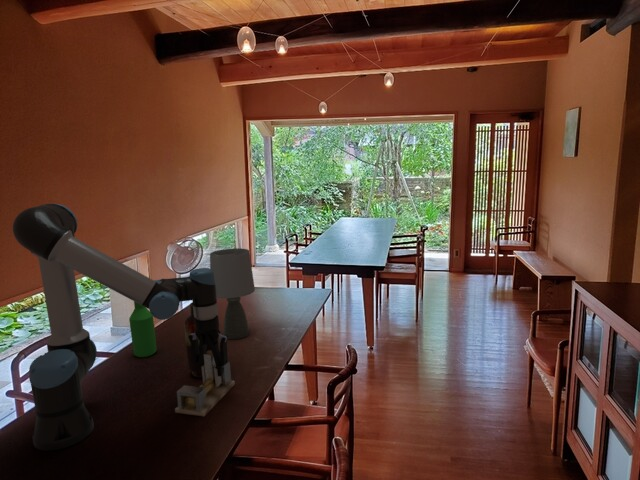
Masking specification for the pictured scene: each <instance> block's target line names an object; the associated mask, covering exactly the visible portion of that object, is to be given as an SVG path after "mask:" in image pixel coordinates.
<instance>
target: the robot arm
mask: <svg viewBox="0 0 640 480" xmlns="http://www.w3.org/2000/svg"><path fill="white" fill-rule="evenodd" d="M77 229H78V219H77V216H76V214H75V213H74V212H73V211H72V210H71V209H70V208H69V207H67V206H65V205H64V204H59V203H44V204H41V205H37V206H32V207H28V208H26V209H24V210H22V211H21V212H19V213H18V214H17V216H15V218H14V221H13V223H12V232H13V236H14V238H15V240H16V241H17V243H18V244H20V245H21V246H22V247H23V248H24V249H26V250H28V251H29V252H30V253H31V254H32V255H33V256H35V257H36V258H37V259H38V264H39V270H40V277H41V281H42V282H41V283H42V289H43V294H44V300H45V305H46V312H47V316H48V323H49V324H48V325H49V329H50V336H49V337H48V338H47V339H46V347H47V352H45V353H43V354H42V355H38V356H37V357H36V358H35V359H34V360H33V361H32V362H31V363H30V365H29V368H28V369H29V370H28V372H29V376H28V377H29V378H28V379H29V381H30V386H31V387H30V388H31V391H32V392H31V393H32V398H33V403H34V404H33V405H34V409H35V415H36V418H35V425H34V430H33V432H32V443H33V446H34V448H35V449H37V450H40V451H44V452H46V451H47V452H49V451H50V452H51V451H57V450H62V449H66V448H69V447H71V446H74V445H76V444H78V443H80V442H81V441H83V440H85V439H86V438H87V437H88V436H89V435H91V434H92V432H93V431H94V427H95V425H94V420H93V419H94V418H93V416H92V415H91V413H90V411H89V410H88V408H87V407H86V405H85V403H84V398H83V390H82V381H83V380H84V379H85V377H86V376H87V375H88V373H89V371H90V370H91V368H92V367H94V364H95V362H96V359H97V353H98V351H97V346H96V343H95V342H94V341H93V340H92V339H91V335H90V331H88V330H86V329H85V328H84V326H83V320H82V314H81V313H82V312H81V306H80V300H79V294H78V288H77V287H78V286H77V280H76V275H75V272H77V273H79V274H81V275H84V276H85V277H87V278H89V279H91V280H92V281H95V282H97V283H98V284H100V285H102V286H104V287H106V288H108V289H110V290H112V291H113V292H116V293H117V294H120V295H121V296H123V297H125V298H127V299H129V300H130V301H132V302H134V301H135V302H137V303H139V304H140V305H142V306H144V307H146V308H147V309H148V310H149V311H150V313H151V314H152V315H153V318H155V319H157V320H160V321H161V320H162V321H165V320H169V319H171V318H172V317H173V316H174V315H175V314H176V313H177V311H179V307H180V303H182V302H189V301H192V302H193V312H194V317H195V319H194V322H195V329H196V332H195V333H192V334H190V335H189V336H188V338H189V340H190V342H191V349H192V356H193V362H194V364H198V365H199V367H200V374H201V375H202V377H203V378H202V384H203V383H204V382H205V381H206V374H205V364H204V354H205V353H206V351H207V344H208V345H209V346H210V348H211V350H212V354H213V357H214V361H215V364H216V367H214V374H215V384H216V387H218V386H219V385H220V384H221V383H222V380H221V376H222V375H223V367H222V366H224V365H225V364H227V362H229V361H228V360H229V359H228V340H229V339H228V336H227V335H225V336H224V334H223V333H221V331H220V329H219V328H220V323H219V322H220V320H219V316H218V314H219V311H218V302H217V301H218V300H217V299H218V298H216V285H215V277H214V272H213V270H212V269H210V267H209V268H208V267H200V268H194V269H192V270H190V272H189V275H188V276H184V277H183V276H182V277H172V278H171V277H170V278H161V279H151V278H150V277H148V276H146V275H145V274H143V273H141V272H139V271H138V270H135V269H133V268H132V267H130V266H128V265H126V264H124V263H123V262H121V261H119V260H117V259H115V258H114V257H112V256H110V255H107V254H106V253H104V252H102V251H100V250H98V249H97V248H95V247H93V246H92V245H89V244H88V243H85V242H84V241H82V240H80V239H79V238H77V237H76V236H75V234H76V232H77ZM197 338H198V339H199V340H200V343H199V345H198V339H197ZM218 346H219V347H218ZM199 347H200V352H199Z"/></svg>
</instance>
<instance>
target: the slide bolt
mask: <svg viewBox="0 0 640 480" xmlns="http://www.w3.org/2000/svg"><path fill="white" fill-rule="evenodd" d="M204 364H205V374H206V381H205V382H204V383H203V382H202V383H201V384H200V385H199V386H198V387H203V388H205V390H206V395H207V394H208V393H209V392H210V391H211V390H212V389H215V388H216V384H215V374H214V367H216V364H215V361H214V357H213V354H212V351H207V352H206V353H205V354H204ZM221 380H222V376H221ZM184 403H185V406H186V407H187V408H189V409H193V408H194V407H195V406H196V402H195V397H191V396H188V397H187V398H186V399H185V401H184Z"/></svg>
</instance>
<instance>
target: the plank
mask: <svg viewBox="0 0 640 480" xmlns="http://www.w3.org/2000/svg"><path fill="white" fill-rule="evenodd" d="M235 385H236V382H235V380H231V381H230V382H229V383H228V384H227V385H226V386H222V383H221V384H220V385H219V386H218V387H216V388H215V389H212V390H211V391H210V392H209V393H208V394H207V395H206V401H207V406H206V407H205V408H204V409H203V410H202V411H201V412H196V406H195V407H194V408H193V409H189V408H187V407H185V408H183V409H182V410H179V409H178V406H177V407H175V408H174V414H175V413H176V414H184V415H191V416H199V417H205V416H206V415H207V414H209V412H210V411H211V410H212V409H213V408H214V407H215V406H216V405H217V404H218V403H219V402H220V400H222V398H223V397H224V396H225V395H226V394H227V393H229V391H230V390H231V389H232V388H233V387H234V386H235Z"/></svg>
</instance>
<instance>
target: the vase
mask: <svg viewBox="0 0 640 480" xmlns="http://www.w3.org/2000/svg"><path fill="white" fill-rule="evenodd" d="M189 310H190V314H189V315H187V316H186V318H185V319H184V321H183V325H184V326H183V327H184V335H185V336H184V337H185V346H186V347H185V348H186V354H187V355H186V357H187V364H188V370H189V371H191V374H192V377H194V378H197V379H203V377H202V375H201V374H200V367H199V365H198V364H194V362H193V356H192V349H191V342H190V340H189V338H188V336H189V335H190V334H192V333H195V332H196V329H195V322H194V319H195V317H194V312H193V301H192V302H190V304H189ZM197 339H198V338H197ZM199 343H200V340H199V339H198V345H199ZM218 347H219V348H220V345H218ZM207 351H212V350H211V348H210V346H209V345H208V344H207ZM207 351H206V352H207ZM199 352H200V347H199Z"/></svg>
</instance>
